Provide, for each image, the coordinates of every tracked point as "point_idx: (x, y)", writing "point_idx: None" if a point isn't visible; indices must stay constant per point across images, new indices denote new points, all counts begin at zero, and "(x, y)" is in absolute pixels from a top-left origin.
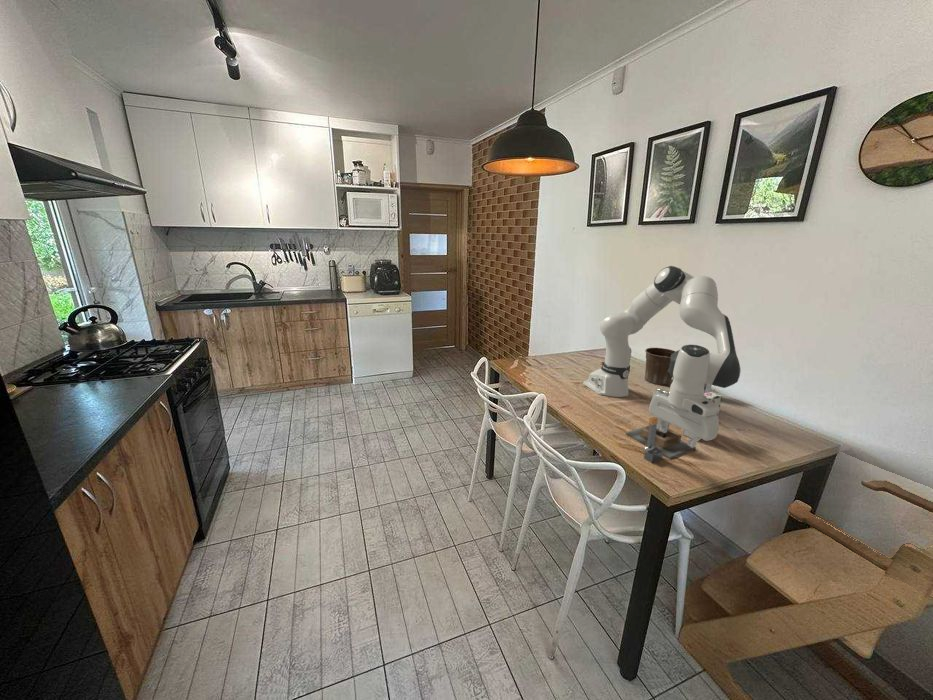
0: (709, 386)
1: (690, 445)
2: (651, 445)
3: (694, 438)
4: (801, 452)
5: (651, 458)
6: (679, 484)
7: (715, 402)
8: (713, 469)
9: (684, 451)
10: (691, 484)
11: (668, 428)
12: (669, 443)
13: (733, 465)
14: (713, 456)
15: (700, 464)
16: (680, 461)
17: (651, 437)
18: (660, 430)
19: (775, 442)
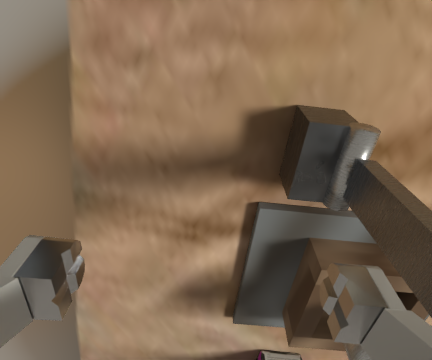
0: None
1: (36, 243)
2: (354, 177)
3: (262, 357)
4: None
5: (309, 114)
6: (111, 47)
7: None
8: (128, 262)
9: (243, 280)
10: (90, 102)
11: (345, 349)
12: (302, 280)
13: (117, 319)
14: (177, 320)
15: (169, 257)
16: (221, 221)
17: (391, 204)
18: (373, 272)
19: None
